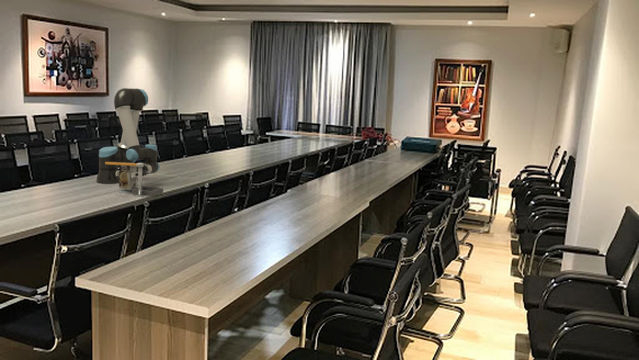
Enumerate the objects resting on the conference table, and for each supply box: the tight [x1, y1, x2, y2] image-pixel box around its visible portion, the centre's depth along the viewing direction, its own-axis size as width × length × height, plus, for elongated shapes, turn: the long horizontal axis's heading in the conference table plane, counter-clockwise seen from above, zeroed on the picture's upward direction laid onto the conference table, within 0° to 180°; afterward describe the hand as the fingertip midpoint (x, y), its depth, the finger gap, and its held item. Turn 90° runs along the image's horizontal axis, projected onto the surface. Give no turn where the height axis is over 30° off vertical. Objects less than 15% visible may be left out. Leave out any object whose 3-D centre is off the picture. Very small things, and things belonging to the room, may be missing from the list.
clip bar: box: [105, 162, 145, 167], centre depth 332 cm, size 4×22×2 cm, turn 93°
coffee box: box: [118, 162, 138, 190], centre depth 343 cm, size 9×6×16 cm
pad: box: [119, 189, 132, 194], centre depth 345 cm, size 9×9×1 cm
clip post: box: [134, 167, 145, 197], centre depth 334 cm, size 4×4×18 cm
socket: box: [131, 185, 164, 197], centre depth 344 cm, size 14×14×3 cm
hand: (124, 174), depth 339 cm, fingers closed on coffee box, 10 cm apart
